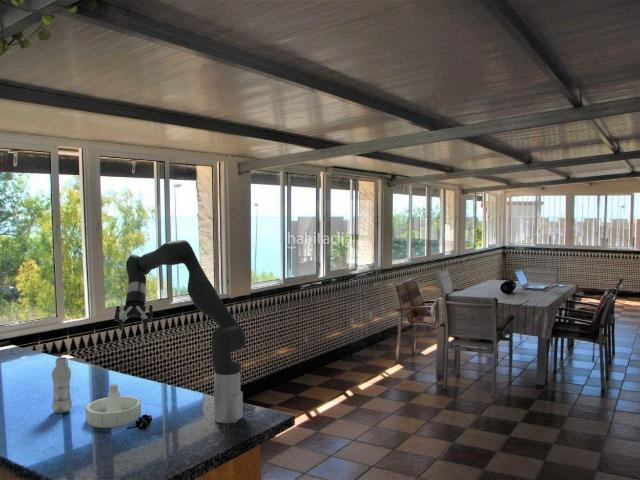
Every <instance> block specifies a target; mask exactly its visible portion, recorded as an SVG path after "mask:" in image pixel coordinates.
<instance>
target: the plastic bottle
mask: <svg viewBox="0 0 640 480" xmlns="http://www.w3.org/2000/svg"><path fill="white" fill-rule="evenodd" d="M71 374H72V371H71V368H70V367H69V366H68V357H56V358H55V367H54V368H53V369H52V371H51V380H52V386H53V387H52V388H53V395H52V396H53V397H52V398H53V399H52V404H51V408H52V411H53V412H54V413H55V414H63V413H68V412H69V411H71V410H72V407H73V406H72V405H73V402H72V398H71V376H72V375H71Z"/></svg>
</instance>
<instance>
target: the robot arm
mask: <svg viewBox="0 0 640 480" xmlns="http://www.w3.org/2000/svg"><path fill="white" fill-rule="evenodd" d="M191 245H192V244H190V242H189V241H187V240H186V239H179V240H172V241H167V242H165V243H163V244H161V245H160V246H159V247H158V248H156V249H155V250H153V251H150V252H148V253H144V254H143V255H141V256H140V255H137V254H132V255H130V256H128V257H127V259H126V262H125V268H126V269H125V270H126V273H127V277H128V283H127V289H126V295H125V304H124V306H123V307H121V306H120V305H117V306H116V307H115V308H116V309H115V311H114V312H115V313H114V321H115V323H117V322H118V329H119V331H120V332H121V331H123V328H124V322H125V321H126V320H128V319H129V318H130V319H131V318H139V317H140V318H141V319H142V321H143V324H142V325H143V326H142V329H143V330H146V329H147V328H148V322H149V321H151V322H152V321H153V320H154V314H153V313H154V312H153V311H154V310H153V309H154V308H153V305H152V304H149V306H146V299H147V298H146V297H147V288H146V287H147V286H146V285H147V276H146V275H148V274H150V272H151V271H152V270H156V269H157V268H160V267H161V266H162V265H163V266H175V265H180V264H183V265H184V266H185V268H186V269H187V271H188V280H187V293H188V296H189V298H190V299H191V300H192V301H191V302H192V303H193V305H194V306H195V308H196V309H198V310H199V311H200V312H201V313H202V314H204V315H206V316H207V317H208V318H210V319H211V320H213V322H215V323H216V324H217V325H218V327H219V328H216V329H215V330H214V331H213V332H212V335H211V359H212V360H211V361H212V365H213V368H214V369H213V371H214V372H213V373H214V374H213V376H214V377H213V379H214V380H213V382H214V385H213V386H214V391H213V392H214V397H213V398H214V401H213V403H214V409H213V410H214V414H213V415H214V422H216V423H219V424H236V423H237V422H239V420H241V419H242V418H243V416H244V415H243V414H244V413H243V412H244V411H243V409H244V407H243V406H244V405H243V403H244V402H243V401H244V398H243V397H244V395H243V394H244V392H243V391H241V370H242V368H241V363H240V362H239V361H237V360H233V359H232V354H231V353H233V352H238V351H240V350H242V349H243V348H244V347H245V346H246V343H247V342H246V335H245V332H244V330H243V329H242V327H241V325H240V324H239V323H238V321H237V320H236V319H235V318H234V316H233V315H232V314H231V312H230V311H229V310H228V309H227V307H226V305H225V304H224V302H223V301H222V299H221V297H220V296H219V293H218V292H217V291H216V289H215V287H214V286H213V284H212V282H211V281H210V280H209V277H208V276H207V274H206V273H205V271H204V269H203V268H202V266H201V264H200V262H199V259H198V258H197V256H196V253H195V251H194V249H193V247H192V246H191ZM146 311H147V312H148V313H149V314H148V315H147V314H146V313H145V312H146ZM121 313H122V314H121ZM120 314H121V316H120Z"/></svg>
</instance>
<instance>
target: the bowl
mask: <svg viewBox="0 0 640 480" xmlns="http://www.w3.org/2000/svg"><path fill="white" fill-rule="evenodd" d="M120 400H121V408H122V411H118V412H107V413H106V411H107V401H108V396H107V397H103V398H99V399H96V400H93V401H91V402H90V403H88V404H87V405H86V407H85V421H86V424H87V425H88V426H89V427H94V428H99V429H107V428H108V429H110V428H111V429H112V428H118V427H122V426H127V425H130V424H132V423H134V422H137V421H138V420H139V419H140V418H141V413H142V401H141V399H139V398H137V397H135V396H128V395H120ZM139 417H140V418H139ZM138 418H139V419H138Z"/></svg>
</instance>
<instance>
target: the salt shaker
mask: <svg viewBox="0 0 640 480" xmlns="http://www.w3.org/2000/svg"><path fill="white" fill-rule="evenodd" d="M120 396H121V392H120V391H119V385H118V384H117V383H112V384H109V392H108V393H107V397H108V401H107V411H106V413H107V412H118V411H122V408H121V400H120Z"/></svg>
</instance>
